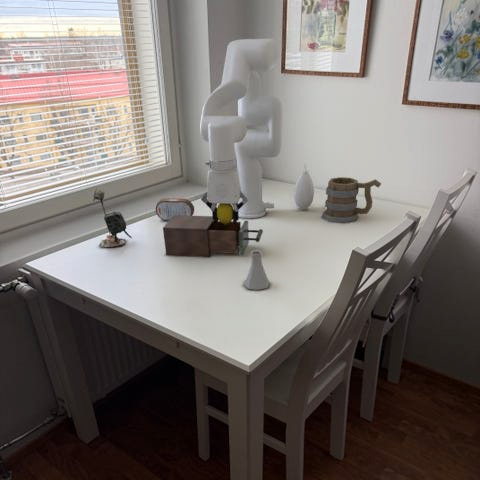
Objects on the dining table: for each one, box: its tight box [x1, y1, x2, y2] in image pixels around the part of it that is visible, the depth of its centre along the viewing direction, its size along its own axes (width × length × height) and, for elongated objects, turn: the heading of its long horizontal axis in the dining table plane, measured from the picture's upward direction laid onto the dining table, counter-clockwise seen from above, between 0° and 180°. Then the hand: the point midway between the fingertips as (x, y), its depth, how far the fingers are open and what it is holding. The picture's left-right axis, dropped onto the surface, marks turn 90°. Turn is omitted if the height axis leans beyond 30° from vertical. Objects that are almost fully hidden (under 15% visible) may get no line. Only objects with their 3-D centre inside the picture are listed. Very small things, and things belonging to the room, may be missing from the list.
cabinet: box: [162, 215, 214, 258], centre depth 154 cm, size 15×12×10 cm
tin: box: [155, 197, 195, 222], centre depth 180 cm, size 15×3×8 cm, turn 84°
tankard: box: [322, 176, 382, 224], centre depth 174 cm, size 20×13×15 cm, turn 68°
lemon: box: [216, 203, 234, 225], centre depth 148 cm, size 6×6×8 cm
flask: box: [244, 249, 270, 291], centre depth 130 cm, size 7×7×10 cm
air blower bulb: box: [293, 163, 315, 211], centre depth 184 cm, size 8×8×18 cm
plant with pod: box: [92, 188, 133, 248], centre depth 158 cm, size 8×11×20 cm
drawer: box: [208, 220, 264, 256], centre depth 152 cm, size 19×11×8 cm, turn 80°
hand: (225, 221), depth 150 cm, fingers closed on lemon, 5 cm apart
